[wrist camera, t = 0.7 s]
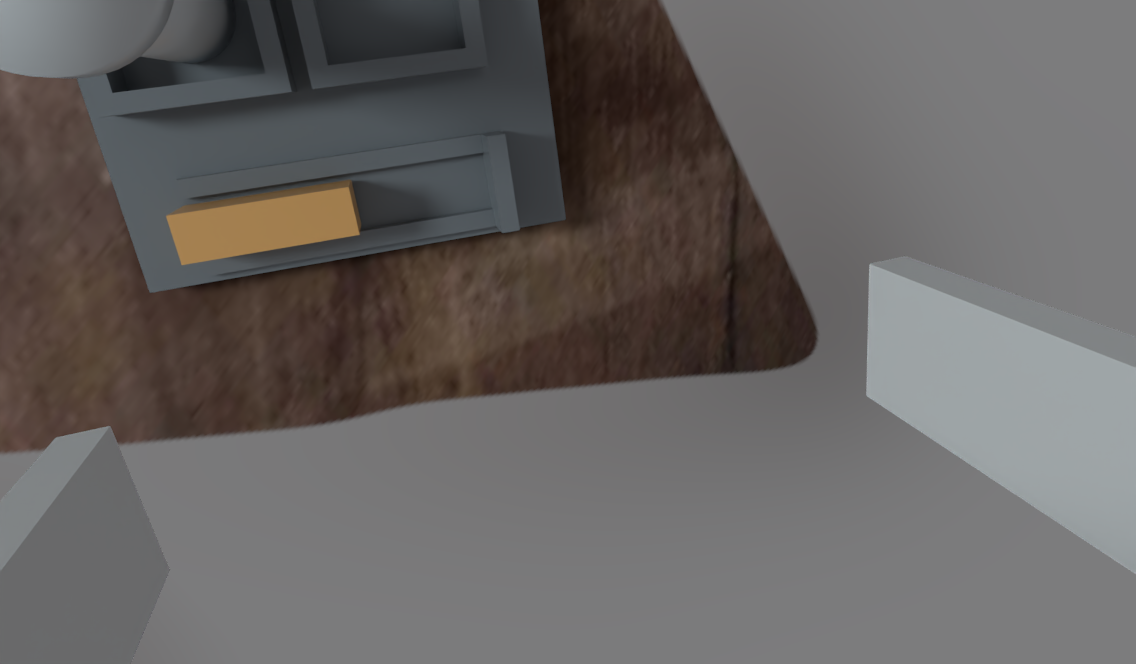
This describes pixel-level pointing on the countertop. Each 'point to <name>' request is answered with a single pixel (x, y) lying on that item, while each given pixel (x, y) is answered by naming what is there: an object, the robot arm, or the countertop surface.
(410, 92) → the housing
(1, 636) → the robot arm
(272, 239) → the bar
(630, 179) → the countertop surface
